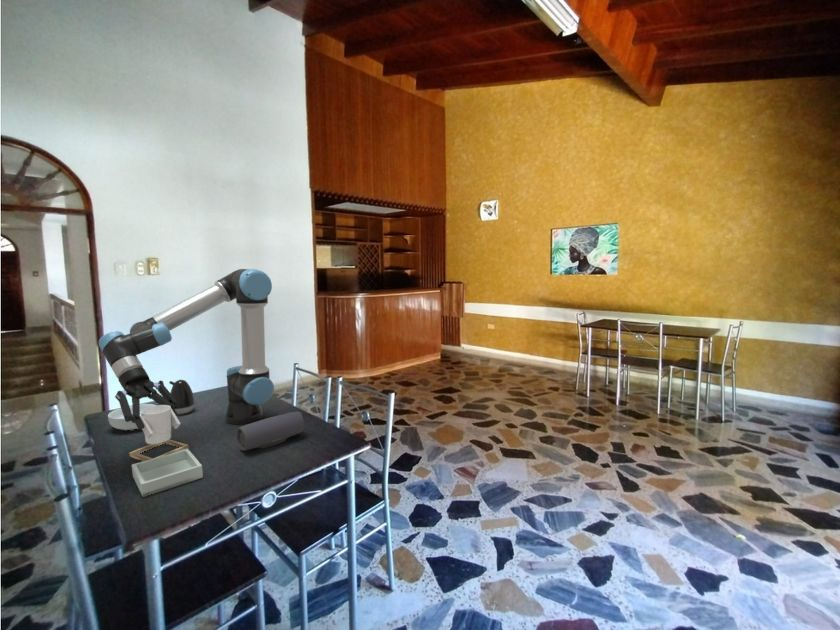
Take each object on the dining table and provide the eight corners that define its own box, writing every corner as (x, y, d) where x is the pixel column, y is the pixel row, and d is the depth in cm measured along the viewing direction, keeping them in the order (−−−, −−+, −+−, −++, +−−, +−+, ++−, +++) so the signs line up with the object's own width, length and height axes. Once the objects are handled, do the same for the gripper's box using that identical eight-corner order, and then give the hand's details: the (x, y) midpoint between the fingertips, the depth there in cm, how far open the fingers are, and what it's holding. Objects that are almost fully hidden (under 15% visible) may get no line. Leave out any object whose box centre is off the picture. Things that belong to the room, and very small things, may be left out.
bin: (188, 459, 141) (187, 448, 140) (202, 477, 129) (202, 465, 129) (132, 476, 130) (131, 464, 129) (142, 497, 118) (141, 484, 118)
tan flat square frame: (166, 442, 155) (165, 438, 155) (188, 448, 149) (188, 444, 149) (129, 456, 143) (129, 452, 143) (152, 464, 138) (151, 460, 137)
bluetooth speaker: (294, 431, 165) (293, 407, 164) (305, 438, 158) (305, 413, 157) (236, 449, 149) (234, 422, 148) (247, 457, 142) (245, 430, 141)
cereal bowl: (103, 438, 158) (102, 420, 157) (115, 422, 173) (114, 406, 172) (155, 431, 165) (153, 414, 164) (162, 416, 180) (161, 401, 179)
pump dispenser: (180, 407, 191) (177, 376, 189) (200, 409, 190) (198, 377, 188) (163, 416, 181) (160, 382, 179) (185, 417, 180) (182, 383, 178)
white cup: (176, 439, 129) (174, 409, 128) (147, 447, 124) (144, 416, 122) (169, 432, 135) (166, 403, 133) (140, 439, 129) (138, 409, 128)
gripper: (159, 372, 143) (191, 425, 138) (90, 388, 125) (124, 450, 120) (167, 359, 140) (200, 413, 135) (97, 374, 122) (132, 436, 117)
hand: (164, 430), depth 127 cm, fingers closed on white cup, 8 cm apart
